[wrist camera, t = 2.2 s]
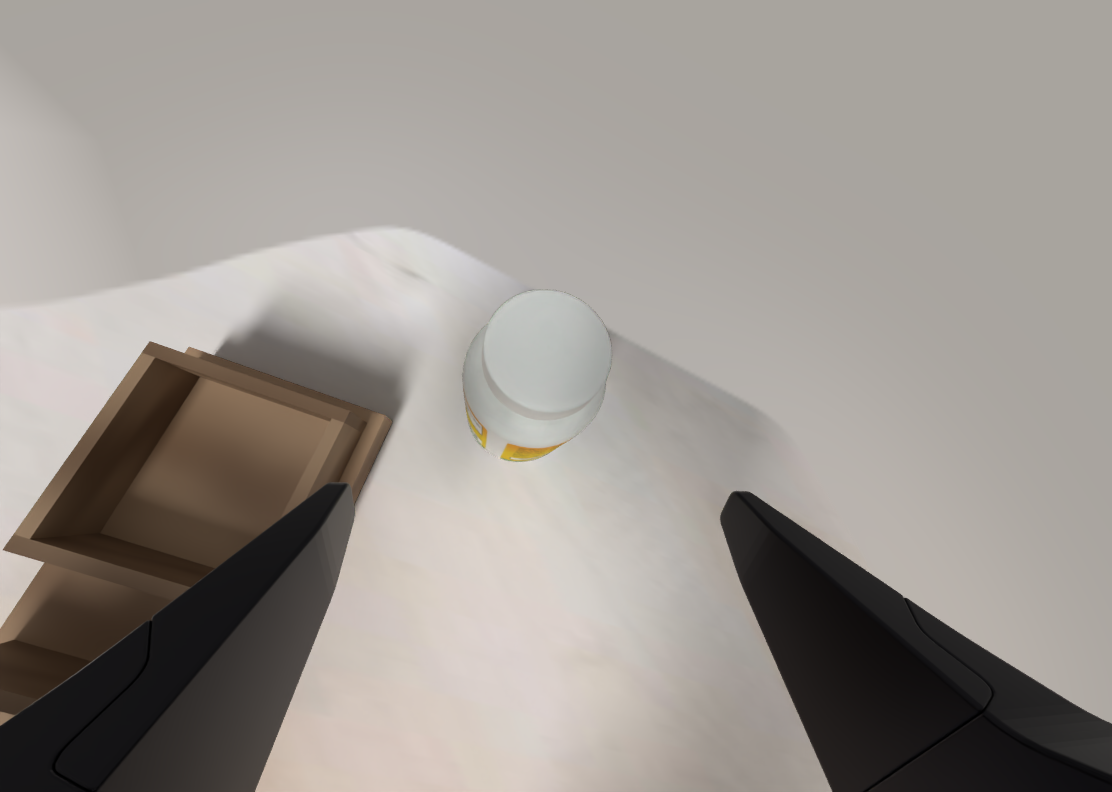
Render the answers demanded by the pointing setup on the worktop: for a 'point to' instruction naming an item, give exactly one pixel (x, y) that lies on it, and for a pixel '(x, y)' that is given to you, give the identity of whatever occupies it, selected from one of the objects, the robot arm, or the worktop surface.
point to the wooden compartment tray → (166, 502)
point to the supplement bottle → (535, 374)
